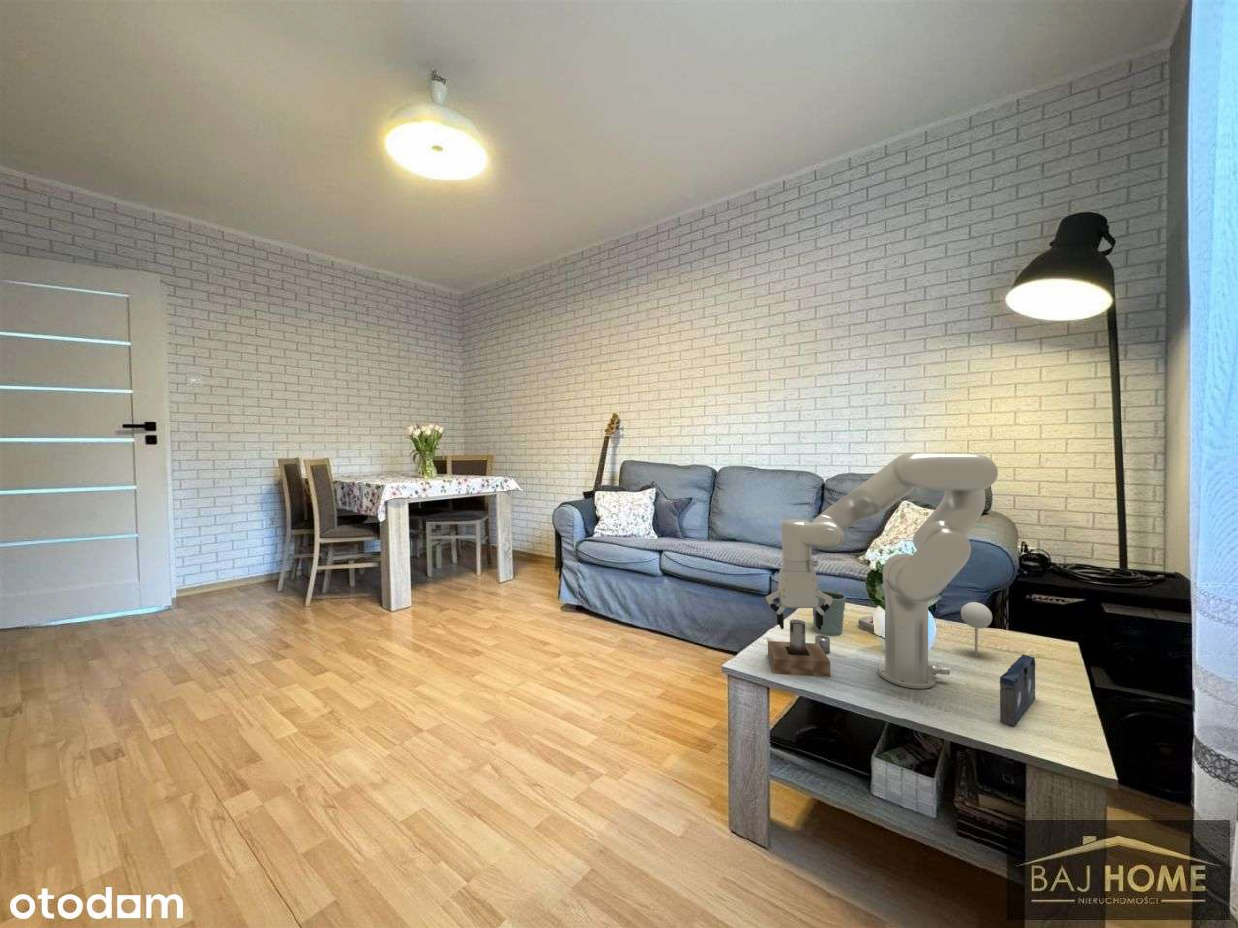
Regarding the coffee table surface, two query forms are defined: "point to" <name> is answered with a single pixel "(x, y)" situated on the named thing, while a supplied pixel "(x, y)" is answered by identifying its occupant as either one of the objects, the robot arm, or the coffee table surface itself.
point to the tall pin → (797, 637)
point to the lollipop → (976, 618)
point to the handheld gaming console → (867, 624)
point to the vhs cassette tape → (1017, 690)
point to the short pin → (823, 643)
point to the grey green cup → (831, 614)
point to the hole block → (798, 660)
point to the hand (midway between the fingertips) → (799, 627)
